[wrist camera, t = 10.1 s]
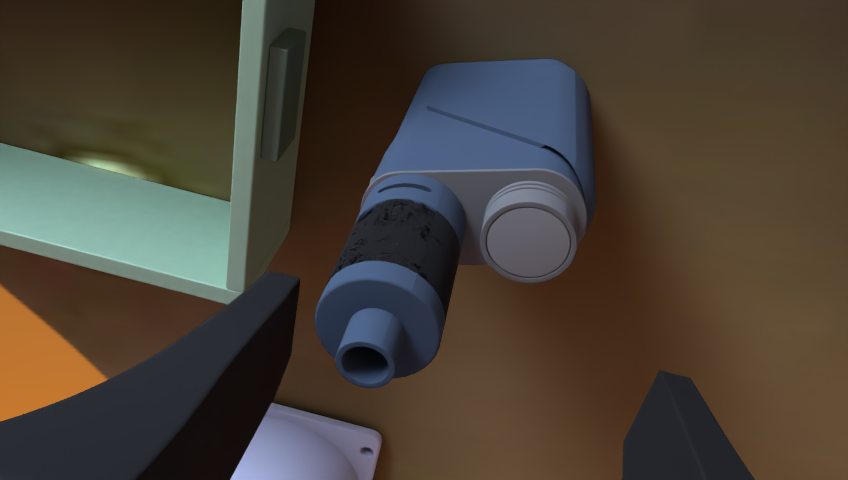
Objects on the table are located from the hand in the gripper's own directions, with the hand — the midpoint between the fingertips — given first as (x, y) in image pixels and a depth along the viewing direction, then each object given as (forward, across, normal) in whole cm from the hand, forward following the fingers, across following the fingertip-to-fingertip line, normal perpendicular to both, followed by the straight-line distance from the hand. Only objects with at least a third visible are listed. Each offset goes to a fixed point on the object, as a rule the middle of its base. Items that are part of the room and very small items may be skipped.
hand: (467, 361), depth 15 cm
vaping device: (+10, 0, -2) cm, 10 cm away
